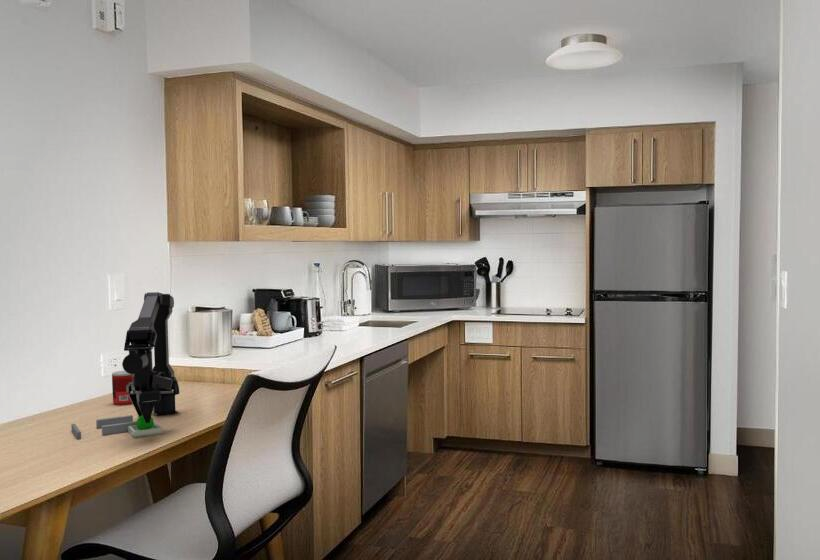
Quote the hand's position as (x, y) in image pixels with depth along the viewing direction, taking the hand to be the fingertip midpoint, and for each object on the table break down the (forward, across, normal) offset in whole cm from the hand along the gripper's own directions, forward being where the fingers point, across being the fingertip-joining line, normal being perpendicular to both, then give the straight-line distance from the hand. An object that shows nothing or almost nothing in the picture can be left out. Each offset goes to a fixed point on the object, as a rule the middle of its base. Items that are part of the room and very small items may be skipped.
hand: (144, 419), depth 224 cm
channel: (+4, +10, +8) cm, 14 cm away
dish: (+4, 0, 0) cm, 4 cm away
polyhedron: (+4, 0, 0) cm, 4 cm away
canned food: (+4, +47, -4) cm, 47 cm away
